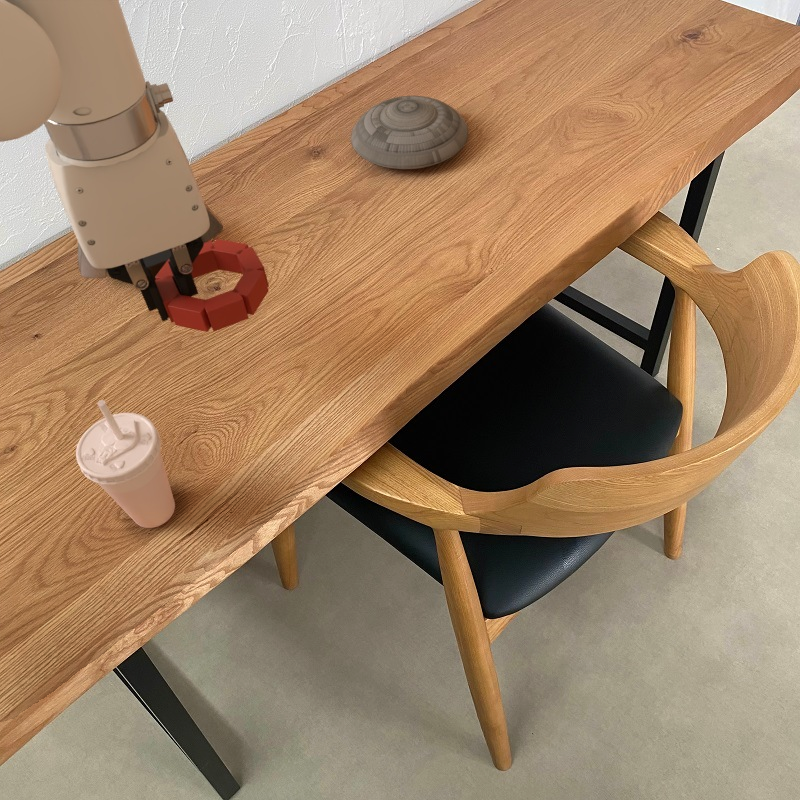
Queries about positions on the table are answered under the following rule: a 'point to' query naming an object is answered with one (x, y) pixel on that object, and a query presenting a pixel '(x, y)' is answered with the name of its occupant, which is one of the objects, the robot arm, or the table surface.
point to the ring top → (225, 305)
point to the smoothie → (128, 465)
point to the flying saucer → (409, 133)
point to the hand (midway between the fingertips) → (174, 305)
